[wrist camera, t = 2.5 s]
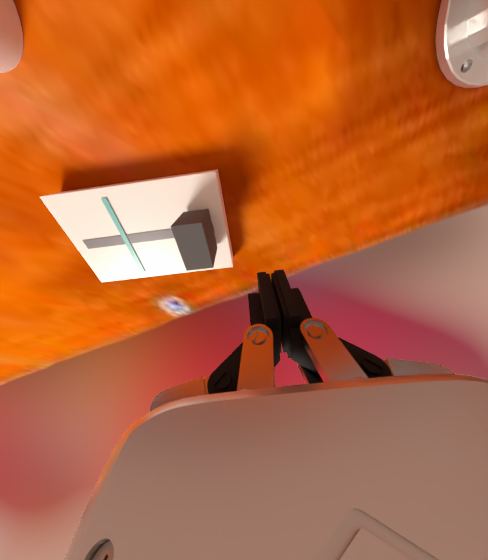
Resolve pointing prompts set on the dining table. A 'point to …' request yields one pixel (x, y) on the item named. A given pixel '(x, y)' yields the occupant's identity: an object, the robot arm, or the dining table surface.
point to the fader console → (139, 223)
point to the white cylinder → (10, 36)
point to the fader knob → (195, 239)
